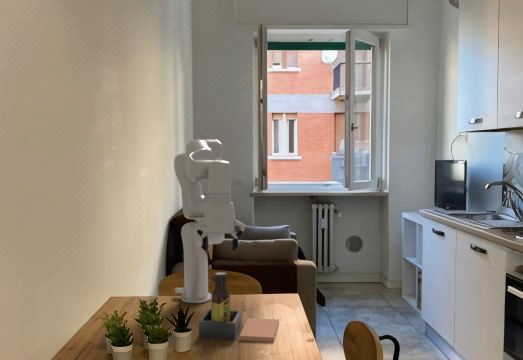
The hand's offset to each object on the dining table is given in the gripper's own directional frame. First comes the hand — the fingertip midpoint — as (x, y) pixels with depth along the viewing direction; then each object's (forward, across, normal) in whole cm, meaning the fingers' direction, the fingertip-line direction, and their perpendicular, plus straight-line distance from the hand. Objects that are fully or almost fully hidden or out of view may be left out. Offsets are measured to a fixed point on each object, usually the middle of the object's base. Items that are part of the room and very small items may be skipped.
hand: (220, 249), depth 158 cm
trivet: (+28, +13, +2) cm, 31 cm away
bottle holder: (+28, 0, 0) cm, 28 cm away
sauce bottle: (+28, 0, 0) cm, 28 cm away
